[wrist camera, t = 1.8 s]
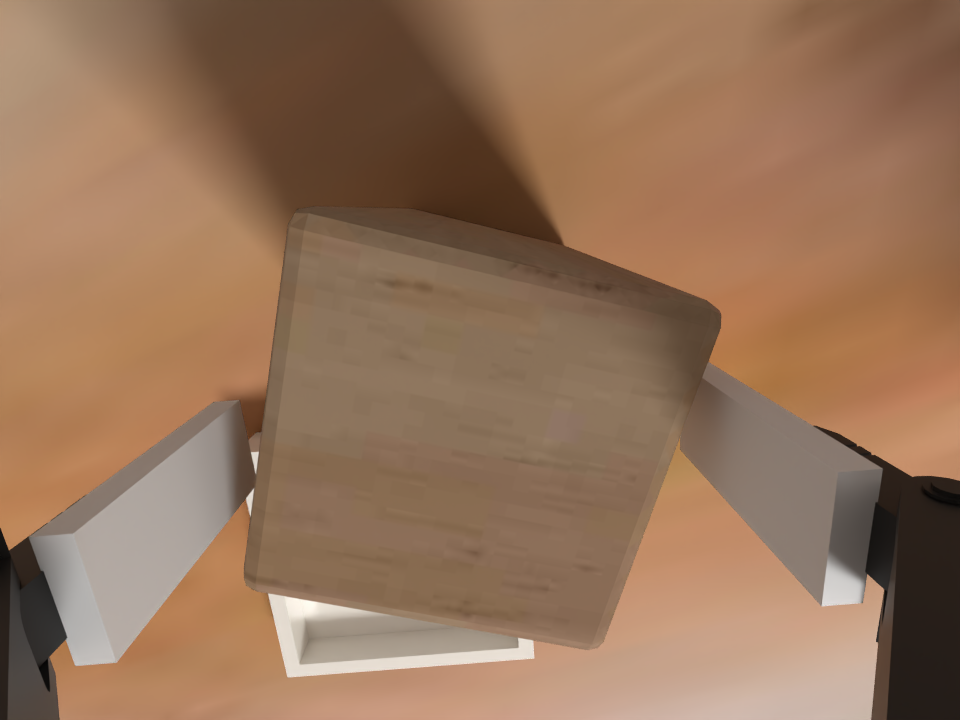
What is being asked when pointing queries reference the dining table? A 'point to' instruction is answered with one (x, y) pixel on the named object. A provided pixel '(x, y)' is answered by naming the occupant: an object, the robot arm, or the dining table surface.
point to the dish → (374, 635)
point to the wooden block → (465, 423)
